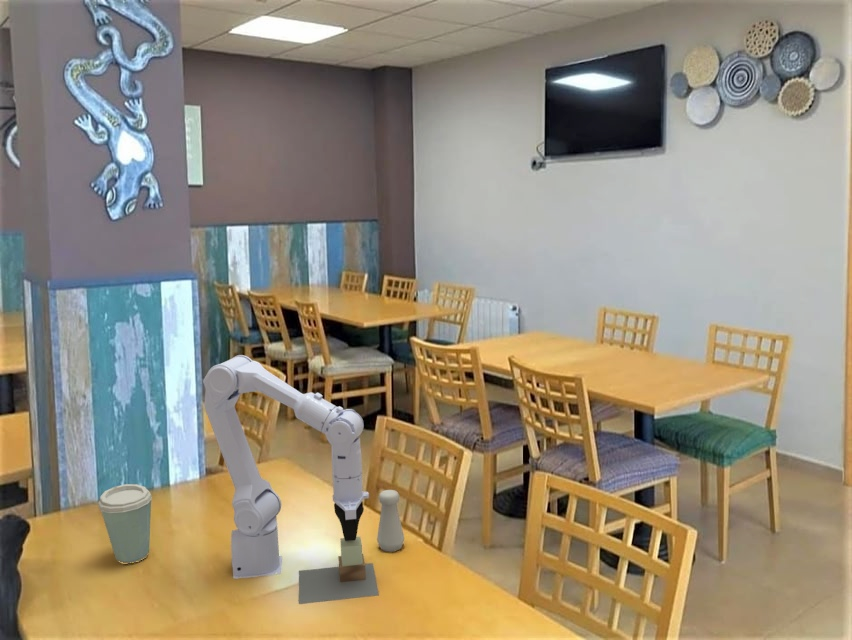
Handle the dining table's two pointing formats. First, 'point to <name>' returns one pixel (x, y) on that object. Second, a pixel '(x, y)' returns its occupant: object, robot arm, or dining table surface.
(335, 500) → the robot arm
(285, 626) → the dining table surface
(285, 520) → the dining table surface
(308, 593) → the slate mat
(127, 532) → the disposable coffee cup
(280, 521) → the dining table surface
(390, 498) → the salt shaker
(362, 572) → the walnut block
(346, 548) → the sage block
